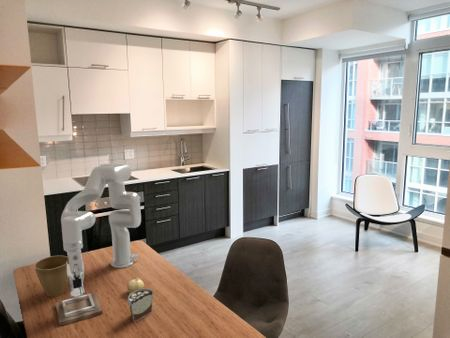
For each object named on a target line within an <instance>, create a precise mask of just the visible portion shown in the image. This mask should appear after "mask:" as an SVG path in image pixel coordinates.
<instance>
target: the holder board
mask: <svg viewBox="0 0 450 338" xmlns="http://www.w3.org/2000/svg"><path fill="white" fill-rule="evenodd" d="M101 306H102V305H101V304H100V301H99V299H98V295H97V293H96V292H93V293H88V294H83V295H81V296H78V297H72V298H71V297H70V298H69V299H65V300H62V301H58V302H55V307H56V313H57V320H58V326H59V327H61V326H64V325H68V324H72V323H75V322H79V321H82V320H85V319H90V318H93V317H96V316H99V315H103V309H102V307H101Z"/></svg>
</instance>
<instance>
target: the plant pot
mask: <svg viewBox="0 0 450 338" xmlns="http://www.w3.org/2000/svg"><path fill="white" fill-rule="evenodd" d="M67 261H68V256H65V255H52V256H48V257H44V258H41V259H40V260H38V261H37V262H36V263H35V264H34V265H33V266H34V270H35V273H36V276H37V278H38V281H39V283H40V286H41V287H42V289H43V290H44V292H45V294H46V295H47V296H48V297H50V298H52V297H58V296H61V295H62V294H63V293H64V292H65V288H66V286H67V281H68V277H67V271H66V262H67Z"/></svg>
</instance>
